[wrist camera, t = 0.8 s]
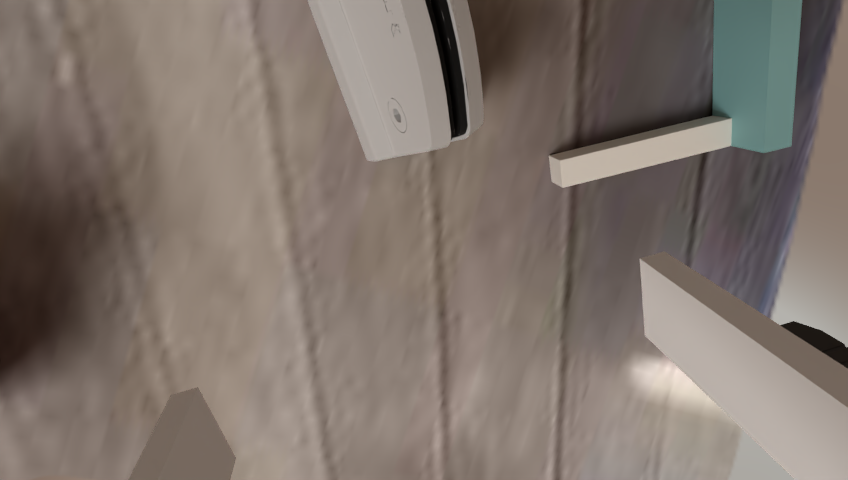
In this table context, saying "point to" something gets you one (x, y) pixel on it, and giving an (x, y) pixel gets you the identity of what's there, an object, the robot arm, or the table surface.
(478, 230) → the table surface
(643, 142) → the guide bay
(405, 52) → the grey half-round casing
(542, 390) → the table surface
